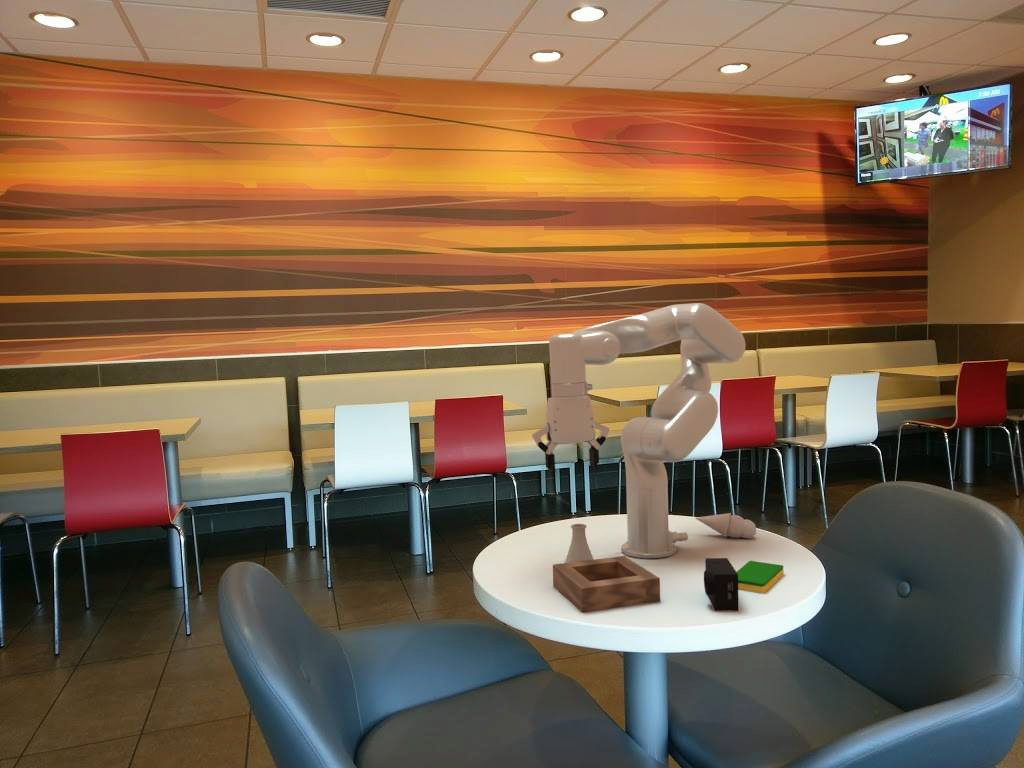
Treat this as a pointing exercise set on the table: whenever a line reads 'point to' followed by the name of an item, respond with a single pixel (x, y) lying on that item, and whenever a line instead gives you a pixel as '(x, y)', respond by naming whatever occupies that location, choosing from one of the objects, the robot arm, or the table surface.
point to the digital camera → (721, 584)
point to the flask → (578, 545)
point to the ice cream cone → (730, 525)
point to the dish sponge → (758, 576)
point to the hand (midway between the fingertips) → (572, 469)
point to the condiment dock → (606, 583)
